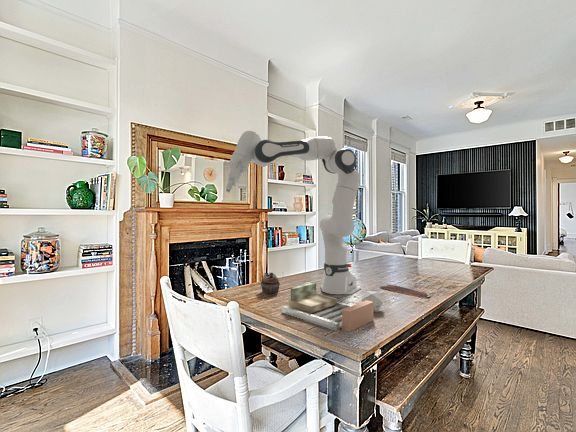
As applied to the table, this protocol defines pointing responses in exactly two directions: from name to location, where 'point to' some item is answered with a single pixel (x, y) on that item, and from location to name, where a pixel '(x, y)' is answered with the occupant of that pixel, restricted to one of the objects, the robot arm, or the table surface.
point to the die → (373, 299)
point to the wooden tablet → (404, 290)
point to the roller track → (320, 315)
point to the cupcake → (270, 284)
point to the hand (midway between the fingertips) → (227, 190)
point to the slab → (309, 298)
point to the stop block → (357, 315)
